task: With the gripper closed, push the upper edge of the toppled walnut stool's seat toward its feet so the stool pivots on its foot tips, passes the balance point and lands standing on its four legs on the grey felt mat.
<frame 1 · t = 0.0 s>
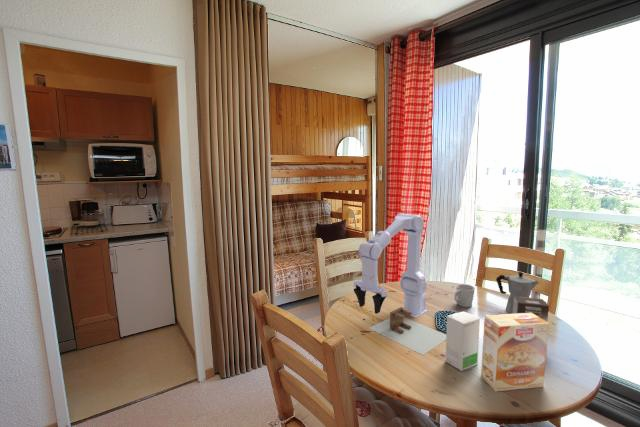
hand: (369, 309, 117), 10 cm above the table, fingers open, 7 cm apart
skincare box: (461, 363, 101), on the table
cup: (462, 305, 142), on the table
coffee box: (527, 344, 111), on the table
coffeecake box: (511, 382, 91), on the table
coffeepot: (514, 312, 135), on the table
mat: (408, 332, 119), on the table
stool: (395, 326, 124), resting on mat
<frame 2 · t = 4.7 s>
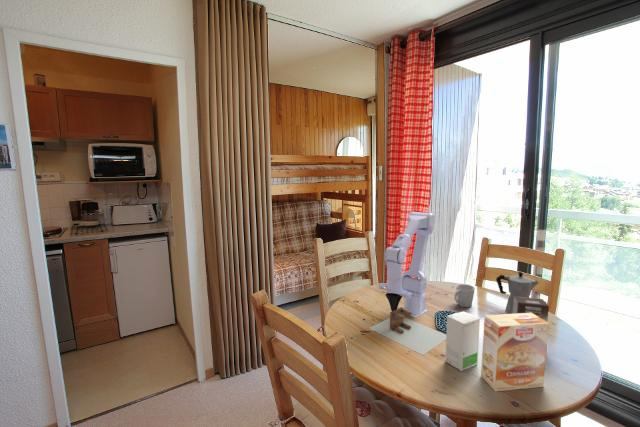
hand: (394, 310, 124), 7 cm above the table, fingers closed, pressing on stool
stool: (395, 326, 124), resting on mat, touching gripper
everything else where it was.
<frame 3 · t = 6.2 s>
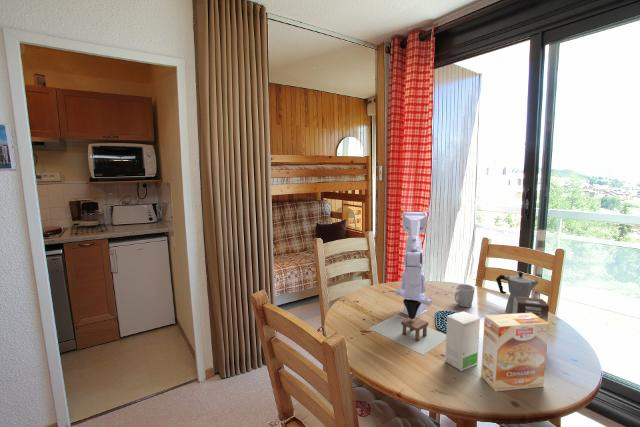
hand: (412, 317, 117), 7 cm above the table, fingers closed
stool: (406, 318, 119), point 5 cm above the table, tilted 90°, touching mat
everything else where it was.
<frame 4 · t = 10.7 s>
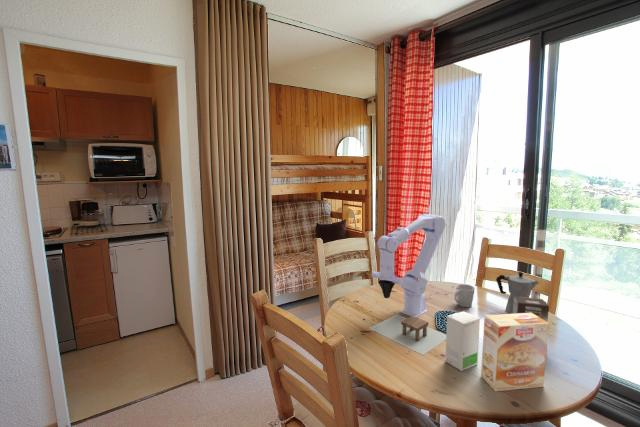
hand: (386, 297, 129), 10 cm above the table, fingers closed
nothing on the table moved.
at the end: stool inside the target area (3.9 cm from its centre), point 5.5 cm above the table; stool tilted 90°; stool moved 7.3 cm from its start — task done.
